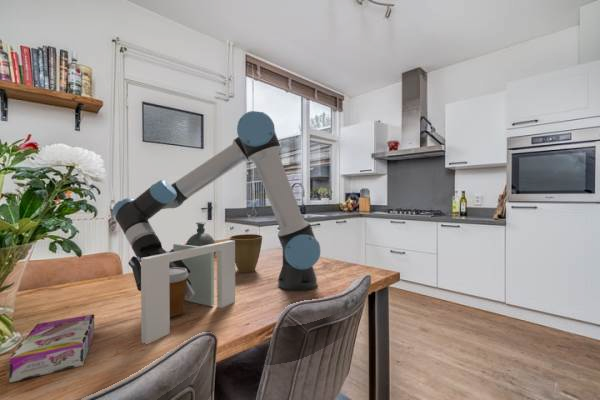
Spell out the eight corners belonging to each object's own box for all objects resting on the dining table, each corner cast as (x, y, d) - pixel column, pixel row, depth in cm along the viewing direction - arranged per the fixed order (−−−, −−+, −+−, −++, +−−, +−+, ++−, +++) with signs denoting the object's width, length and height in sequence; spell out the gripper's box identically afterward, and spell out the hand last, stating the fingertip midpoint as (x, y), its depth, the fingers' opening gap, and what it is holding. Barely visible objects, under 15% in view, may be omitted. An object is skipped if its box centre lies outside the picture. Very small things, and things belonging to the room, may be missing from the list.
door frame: (230, 300, 92) (230, 240, 92) (235, 301, 91) (235, 240, 91) (141, 342, 66) (140, 258, 65) (146, 344, 65) (146, 259, 64)
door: (215, 304, 88) (215, 247, 88) (209, 307, 86) (209, 249, 85) (178, 295, 96) (178, 243, 95) (171, 298, 93) (171, 244, 93)
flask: (222, 267, 135) (222, 222, 134) (187, 274, 123) (187, 224, 123) (212, 263, 143) (211, 220, 143) (178, 269, 131) (177, 222, 131)
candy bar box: (94, 312, 71) (84, 342, 56) (94, 331, 71) (84, 366, 57) (35, 322, 65) (7, 358, 51) (35, 343, 65) (8, 385, 51)
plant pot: (232, 267, 135) (231, 234, 135) (262, 266, 137) (262, 234, 136) (227, 275, 120) (227, 239, 120) (262, 274, 122) (262, 238, 122)
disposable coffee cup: (175, 321, 75) (174, 276, 74) (144, 318, 77) (144, 274, 76) (195, 307, 84) (195, 267, 84) (167, 304, 86) (167, 266, 86)
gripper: (169, 243, 97) (201, 297, 89) (101, 254, 78) (136, 324, 71) (179, 229, 94) (213, 283, 87) (112, 237, 76) (148, 307, 68)
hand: (178, 301), depth 79 cm, fingers closed on disposable coffee cup, 8 cm apart
